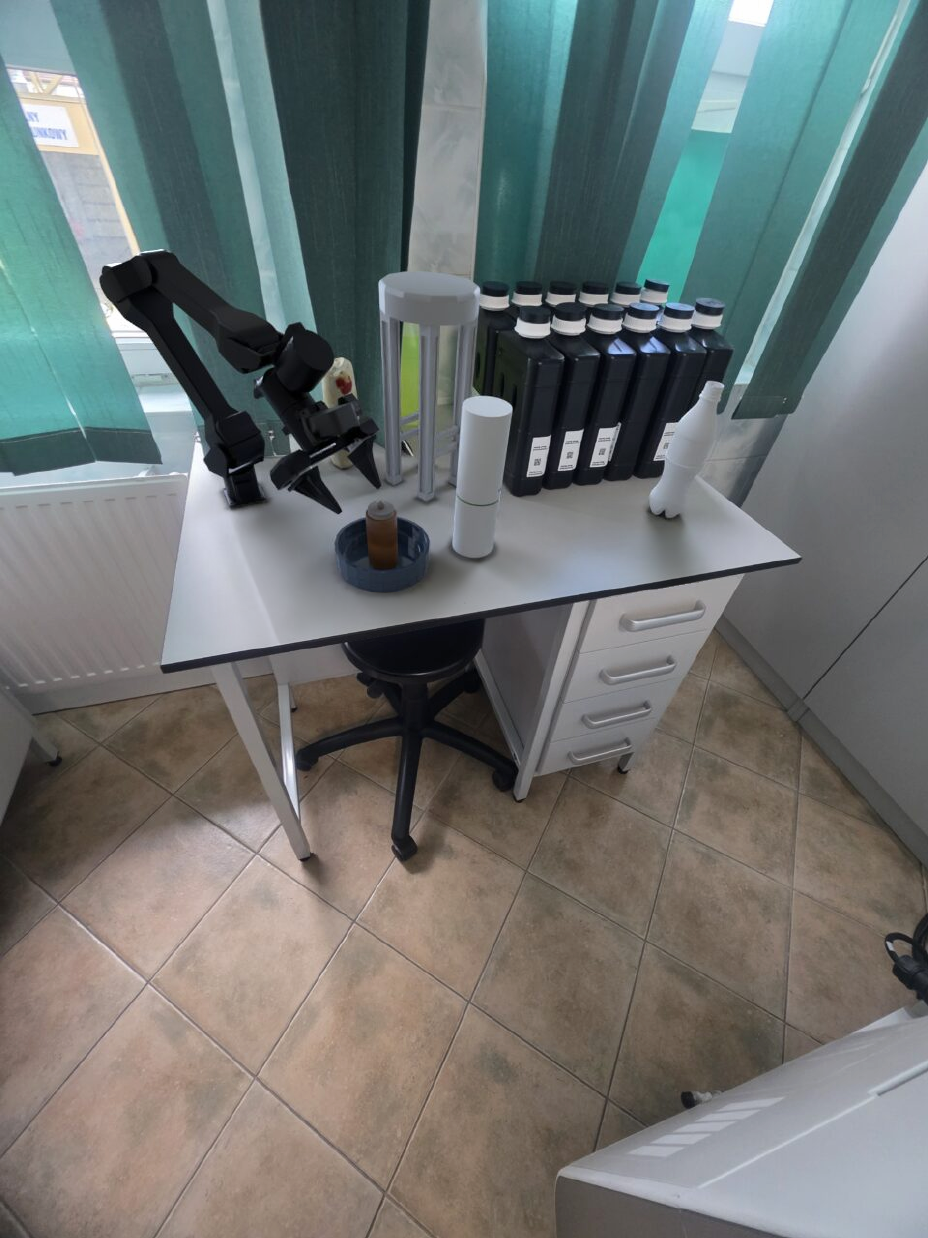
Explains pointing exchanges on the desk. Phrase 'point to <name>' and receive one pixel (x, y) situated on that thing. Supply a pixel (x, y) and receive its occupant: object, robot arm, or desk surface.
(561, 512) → the desk surface
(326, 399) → the food model
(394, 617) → the desk surface
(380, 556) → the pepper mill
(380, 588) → the bowl
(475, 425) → the cylindrical container
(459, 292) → the stool
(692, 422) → the water bottle
